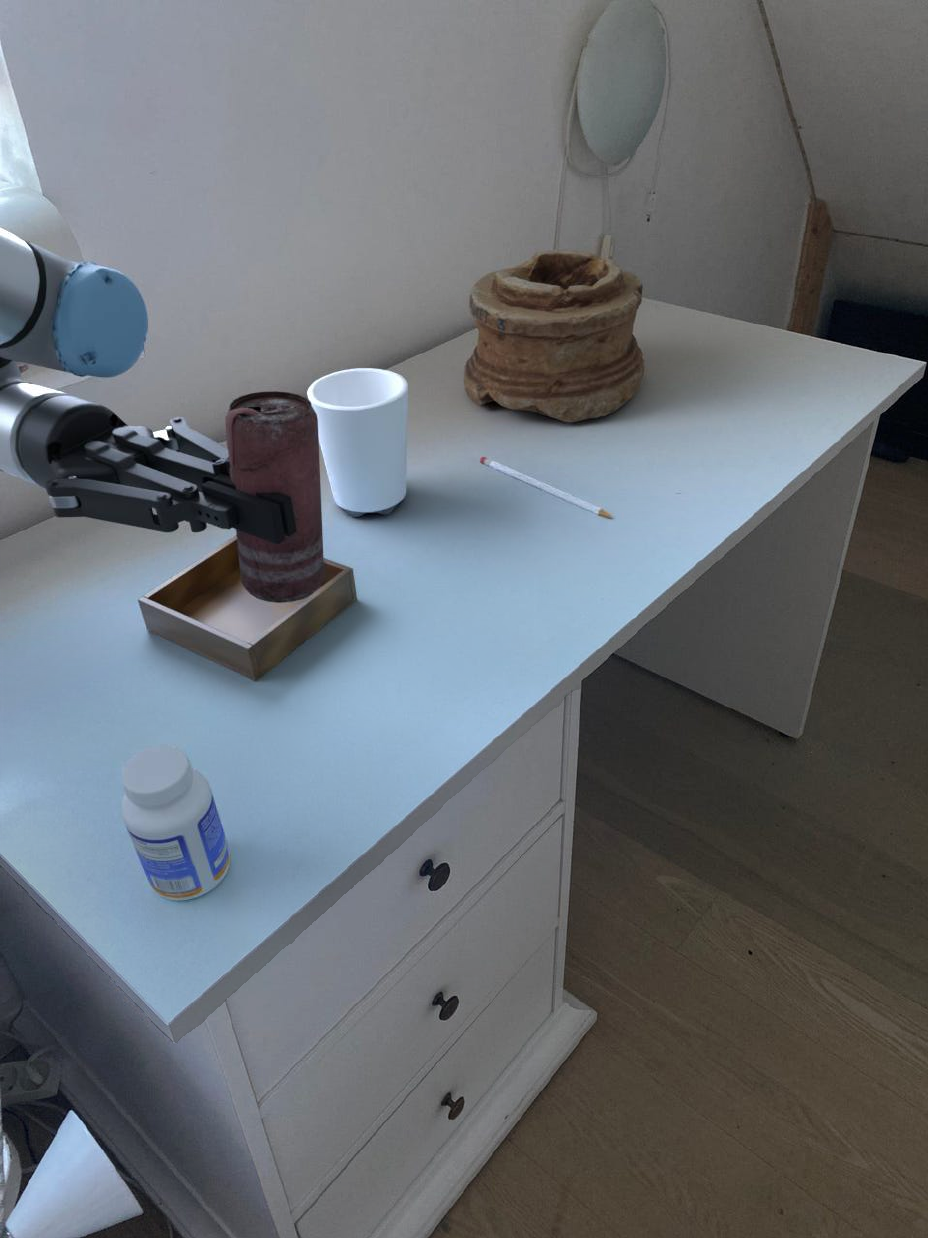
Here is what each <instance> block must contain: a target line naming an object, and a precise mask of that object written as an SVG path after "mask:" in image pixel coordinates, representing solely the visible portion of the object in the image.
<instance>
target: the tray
mask: <svg viewBox="0 0 928 1238" xmlns="http://www.w3.org/2000/svg"><path fill="white" fill-rule="evenodd" d="M323 558H324V579H323V581H322V583H321V585H320V586H319V588H318V589H317V590H316V591H315V592H314V593H313V594H312V595H310V596H308V597H306V598H304V599H301V600H297V601H293V602H283V603H276V602H267V601H264V600H260V599H257V598H256V597H254V596H253V595H251V594H250V593H249V592H248V591H247V590H246V589H245V587H244V586H243V584H242V583H241V575H240V565H239V555H238V545H237V535H234V536H233V537H231V538H230V539H228V540H227V541H225V542H223V543H222V544H220V545H219V546H217V547H216V548H214V549H213V550H211V551H210V552H208V553H206V554H205V555H204V556H202V557H201V558H199V559H197V560H196V561H195V562H192V564H190V565H188V566H187V567H185V568H183V569H182V570H181V571H179V572H177V573H176V574H174V575H173V576H171V577H170V578H168V579H166V580H165V581H164V582H162V583H161V584H159V585H157V586H156V587H155V588H153V589H152V590H150V591H149V592H146V593H145V594H144V595H142V596H141V597H140V598H137V602H138V605H139V608H140V611H141V615H142V618H143V622H144V624H145V628H146V631H147V632H150V633H152V634H153V635H156V636H158V637H160V638H162V639H164V640H165V641H166V640H167V641H169V642H171V643H173V644H175V645H176V646H179V647H182V648H184V649H186V650H188V651H190V652H192V653H194V654H196V655H198V656H200V657H202V658H204V659H207V660H209V661H211V662H213V663H216V664H218V665H220V666H222V667H224V668H226V669H228V670H230V671H233V672H234V673H237V674H239V675H241V676H243V677H246V678H248V679H249V680H252V681H254V682H257V681H258V680H259V679H261V678H262V677H263V676H264V675H265V674H267V673H268V672H269V671H271V670H272V669H273V668H274V667H275V666H277V665H278V664H279V663H280V662H282V661H283V660H284V659H286V657H288V656H290V654H292V653H293V652H294V651H295V650H296V649H298V648H299V647H300V646H301V645H303V644H304V643H305V642H306V641H307V640H309V639H310V638H312V637H313V636H314V634H316V633H318V631H320V630H321V629H322V628H324V627H325V626H326V625H327V624H329V623H330V622H331V621H332V620H333V619H335V618H336V617H337V616H338V615H340V614H341V613H342V612H343V611H345V610H346V609H347V608H348V607H350V606H351V605H352V604H353V603H354V602H355V601H357V600H358V596H357V588H356V587H357V586H356V581H355V574H354V573H355V572H354V568H353V567H350V566H348V565H344V564H342V563H340V562H336V561H334V560H331V559H329V558H325V557H323Z"/></svg>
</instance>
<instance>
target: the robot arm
mask: <svg viewBox="0 0 928 1238" xmlns="http://www.w3.org/2000/svg"><path fill="white" fill-rule="evenodd" d="M148 331H149V317H148V311H147V307H146V303H145V300H144V298H143V295H142V293H141V292H140V290H139V288H138V287H137V285H136V284H135V283H134V282H133V280H132V279H131V278H130V277H128V276H127V275H126V274H125V273H123V272H121V271H118V270H116V269H113V268H110V267H106V266H101V265H98V264H97V263H95V262H93V261H81V262H77V261H73V260H70V259H66V258H64V257H61V256H59V255H57V254H55V253H53V252H51V251H49V250H48V249H45V248H43V247H41V246H39V245H37V244H35V243H32V242H30V241H27V240H25V239H23V238H20V237H18V236H17V235H15V234H13V233H12V232H9V231H7V230H6V229H3V228H2V227H0V472H3V473H5V474H7V475H10V476H13V477H15V478H18V479H21V480H23V481H26V482H28V483H31V484H34V485H36V486H39V487H41V488H43V489H45V490H46V494H47V495H48V499H49V502H50V505H51V508H52V510H53V514H54V516H55V517H56V518H88V519H93V520H99V521H104V522H109V523H115V524H119V525H125V526H131V527H136V528H140V529H146V530H152V531H155V532H161V533H173V532H175V531H177V530H178V529H179V528H180V524H179V523H181V522H187V523H189V527H190V530H191V533H201V532H204V531H205V530H206V529H207V528H208V526H207V524H208V525H210V526H213V527H217V528H218V529H222V530H231V529H234V530H236V529H237V530H239V531H242V532H245V533H248V534H250V535H253V536H256V537H259V538H261V539H264V540H267V541H270V542H272V543H275V544H280V543H281V542H282V541H284V540H285V535H286V536H289V537H290V536H291V535H293V534H294V533H295V532H297V529H296V523H295V517H294V512H293V506H292V500H291V497H290V496H287V495H284V494H281V493H278V492H272V493H256V492H255V494H256V495H257V497H256V496H253V495H250V494H247V493H244V492H241V491H238V490H236V486H235V484H234V483H233V482H232V481H231V474H230V464H229V453H228V448H227V446H225V445H222V444H220V443H219V442H217V441H215V440H214V439H212V438H210V437H208V436H207V435H204V434H202V433H201V432H200V431H198V430H195V429H194V428H192V427H190V426H189V423H188V422H187V419H186V418H185V417H183V416H176V417H172V418H171V419H170V420H169V426H166V427H165V429H163V430H157V431H153V430H152V429H151V428H150V427H148V426H144V425H128V424H127V423H126V422H124V421H123V420H122V419H121V418H120V416H118V415H117V414H116V413H115V412H114V411H112V409H110V408H109V407H106V406H104V405H102V404H100V403H96V402H93V401H90V400H88V399H84V398H80V397H77V396H73V395H71V394H69V393H67V392H63V391H60V390H56V389H53V388H49V387H45V386H41V385H38V384H34V383H32V382H30V381H26V380H24V378H23V376H22V373H21V370H20V367H19V365H18V362H19V363H24V364H28V365H32V366H37V367H41V368H46V369H51V370H56V371H60V372H64V373H69V374H72V375H73V376H76V377H80V378H81V377H82V378H83V377H87V376H88V377H95V378H104V379H106V378H114V377H118V376H120V375H122V374H124V373H126V372H128V371H129V370H130V369H131V368H132V367H134V366H135V364H136V363H137V362H138V360H139V359H140V357H141V356H142V354H143V351H144V348H145V343H146V341H147V333H148ZM153 509H154V510H155V512H156V513H154V511H153Z"/></svg>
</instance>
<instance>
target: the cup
mask: <svg viewBox="0 0 928 1238" xmlns="http://www.w3.org/2000/svg"><path fill="white" fill-rule="evenodd" d="M306 395H307V399H308V400H309V401H310V402H311V404H312V407H313V409H314V411H315V412H316V414H317V418H318V438H319V447H320V449H321V454H322V458H323V462H324V465H325V469H326V473H327V478H328V481H329V485H330V488H331V493H332V497H333V500H334V503H335V504H336V505H337V506H338V507H340V508H341V509H342V510H344V511H345V512H347V513H348V514H349V515H350V516H351V517H354V518H359V517H362V516H364V515H365V514H370V513H377V514H379V515H388V514H391V513H392V511H393V510H394V509H395V508H396V507H397V506H398V505H399V504H400V502H401V501H403V500H405V498H406V496H407V475H408V473H407V471H408V470H407V468H408V466H407V465H408V464H407V463H408V411H409V408H408V407H409V404H408V401H409V384H408V382H407V379H406V378H405V377H404V376H402V375H401V374H399V373H396V372H394V371H391V370H387V369H383V368H372V367H359V368H358V367H356V368H350V369H343V370H340V371H335V372H332V373H329V374H327V375H324V376H322V377H320V378H318V379H316V380H314V381H313V383H312V384H310V386H309V387H308V389H307V391H306Z"/></svg>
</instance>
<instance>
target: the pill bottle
mask: <svg viewBox="0 0 928 1238" xmlns="http://www.w3.org/2000/svg"><path fill="white" fill-rule="evenodd" d="M120 775H121V783H122V787H123V791H124V794H123V797H122V800H121V805H120V806H121V816H122V819H123V822H124V825H125V827H126V830H127V832H128V835H129V838H130V840H131V843H132V845H133V847H134V850H135V852H136V855H137V857H138V859H139V863H140V865H141V867H142V869H143V873H144V875H145V877H146V879H147V882H148V883H149V885H150V887H151V888H152V890H153V891H154V892H155V893H156V894H157V895H158V896H160V897H162V898H164V899H167V900H170V901H177V902H178V901H188V900H193V899H196V898H199V897H201V896H204V895H205V894H208V893H209V892H210V891H212V890H213V889H215V888H216V887H217V886H218V885H219V884H221V882H222V881H223V880H224V878H225V877H226V875H227V873H228V871H229V868H230V865H231V852H230V847H229V844H228V840H227V837H226V833H225V830H224V828H223V827H224V826H223V824H222V821H221V818H220V817H221V816H220V813H219V811H218V808H217V805H216V801H215V798H214V795H213V791H212V788H211V786H210V783H209V781H208V779H207V778H206V777H205V775H204V774H202V772H201V771H199V770H198V769H196V768H194V767H192V764H191V762H190V758H189V756H188V754H187V753H186V752H185V751H184V750H183V749H181V748H179V747H178V746H175V745H171V744H156V745H152V746H149V747H145V748H144V749H141V750H140V751H138V752H135V754H133V755H132V756H131V757H130V758H129V759H128V760H127V761H126V762H125V764H124V765H123V767H122V770H121V774H120Z"/></svg>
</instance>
